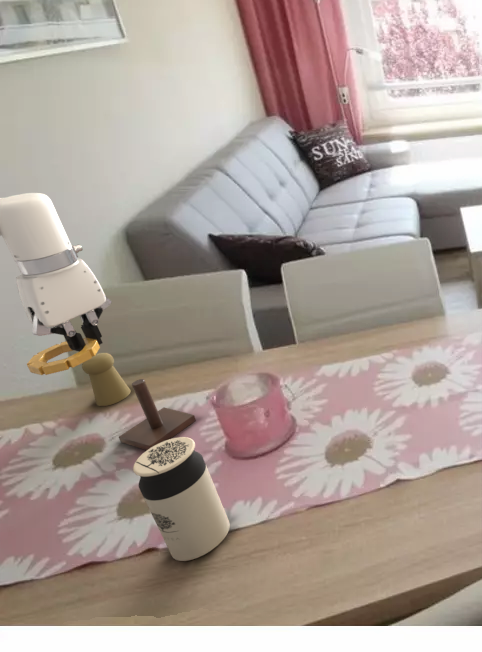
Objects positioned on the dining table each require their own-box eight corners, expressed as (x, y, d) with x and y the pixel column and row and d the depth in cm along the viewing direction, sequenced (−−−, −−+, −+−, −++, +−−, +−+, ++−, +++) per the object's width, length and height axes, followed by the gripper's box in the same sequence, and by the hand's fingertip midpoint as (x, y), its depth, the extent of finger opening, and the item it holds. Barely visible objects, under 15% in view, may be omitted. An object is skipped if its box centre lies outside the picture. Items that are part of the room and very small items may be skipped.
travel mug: (215, 510, 92) (181, 428, 85) (240, 530, 88) (206, 446, 82) (162, 547, 86) (120, 462, 79) (186, 571, 82) (144, 484, 75)
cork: (98, 410, 118) (78, 368, 114) (94, 398, 122) (75, 358, 118) (132, 396, 122) (114, 355, 118) (128, 385, 126) (110, 345, 122)
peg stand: (152, 451, 106) (129, 400, 101) (121, 442, 108) (97, 392, 104) (196, 420, 113) (176, 372, 109) (166, 412, 116) (145, 365, 111)
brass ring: (52, 378, 95) (49, 370, 94) (20, 370, 97) (16, 362, 97) (110, 348, 103) (107, 341, 102) (78, 341, 105) (75, 335, 105)
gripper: (84, 242, 104) (119, 323, 111) (-23, 279, 91) (25, 368, 97) (110, 245, 102) (145, 327, 109) (4, 284, 88) (52, 375, 95)
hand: (88, 346), depth 103 cm, fingers closed on brass ring, 1 cm apart
